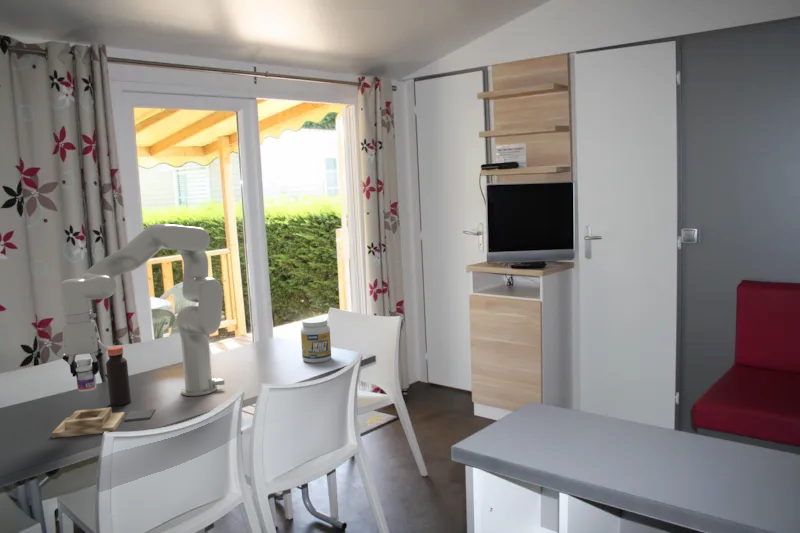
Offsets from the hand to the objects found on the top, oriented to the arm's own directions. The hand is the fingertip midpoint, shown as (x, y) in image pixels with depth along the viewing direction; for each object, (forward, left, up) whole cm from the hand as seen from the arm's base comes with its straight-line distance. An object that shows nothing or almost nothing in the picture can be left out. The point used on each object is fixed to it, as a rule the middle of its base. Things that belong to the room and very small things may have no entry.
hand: (85, 373), depth 209 cm
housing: (0, 0, -17) cm, 17 cm away
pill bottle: (0, 0, -5) cm, 5 cm away
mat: (-14, -6, -17) cm, 23 cm away
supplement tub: (-74, -58, -17) cm, 95 cm away
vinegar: (-4, -22, -17) cm, 28 cm away
